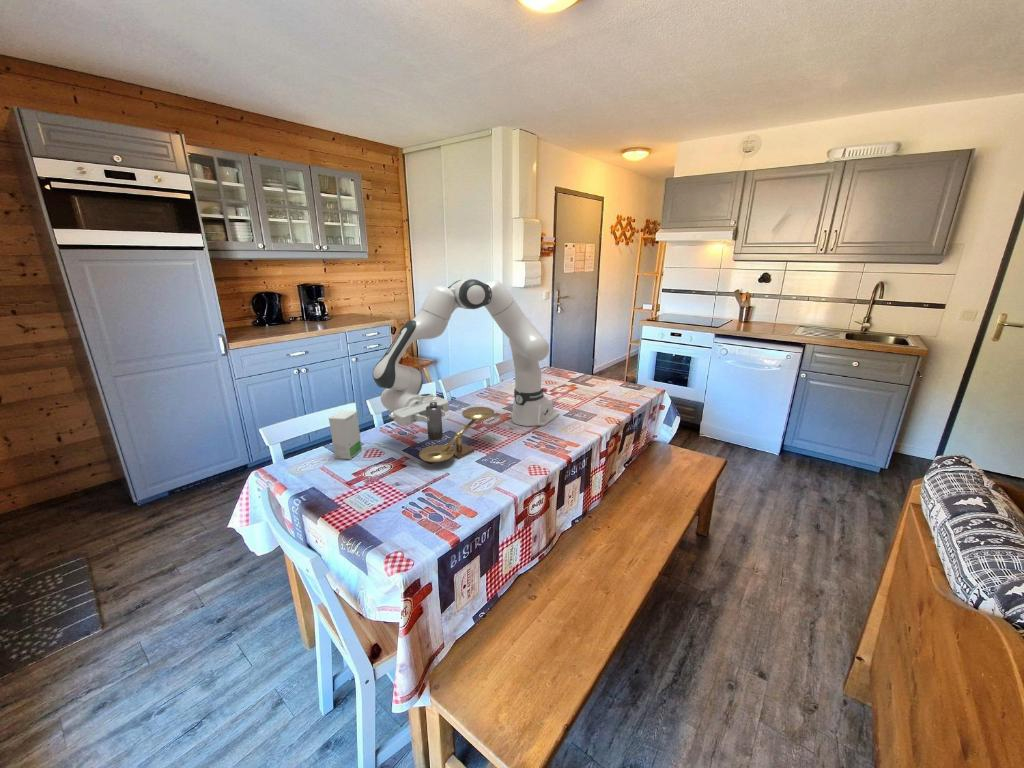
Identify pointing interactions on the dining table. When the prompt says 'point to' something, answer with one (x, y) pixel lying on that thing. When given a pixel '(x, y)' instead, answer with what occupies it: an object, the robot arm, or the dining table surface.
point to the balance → (456, 439)
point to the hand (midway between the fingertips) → (435, 416)
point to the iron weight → (434, 421)
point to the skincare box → (345, 434)
